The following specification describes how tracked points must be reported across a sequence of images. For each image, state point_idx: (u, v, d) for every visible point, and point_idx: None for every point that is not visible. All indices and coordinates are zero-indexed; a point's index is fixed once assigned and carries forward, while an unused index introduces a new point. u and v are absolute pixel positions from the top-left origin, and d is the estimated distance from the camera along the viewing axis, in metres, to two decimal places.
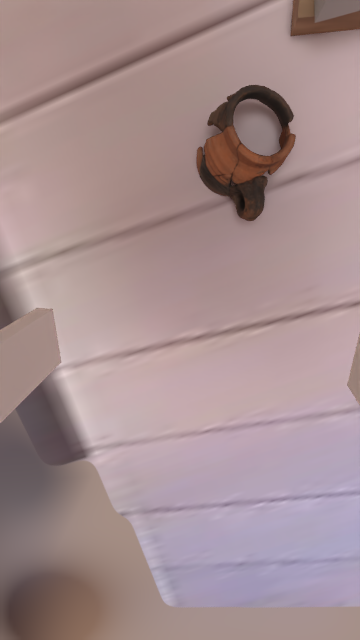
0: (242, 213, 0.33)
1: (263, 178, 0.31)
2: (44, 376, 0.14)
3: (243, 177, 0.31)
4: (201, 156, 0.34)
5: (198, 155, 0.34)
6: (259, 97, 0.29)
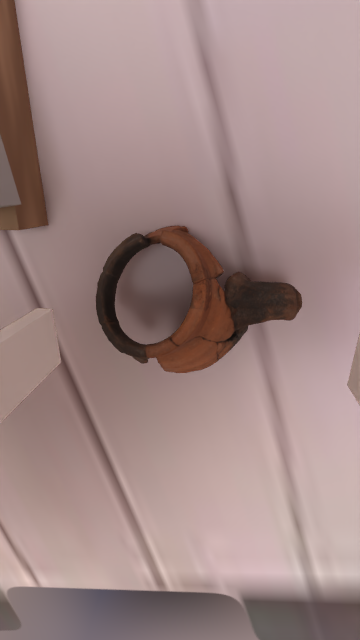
0: None
1: (229, 286, 0.17)
2: (44, 376, 0.14)
3: (224, 323, 0.17)
4: None
5: None
6: (111, 289, 0.19)
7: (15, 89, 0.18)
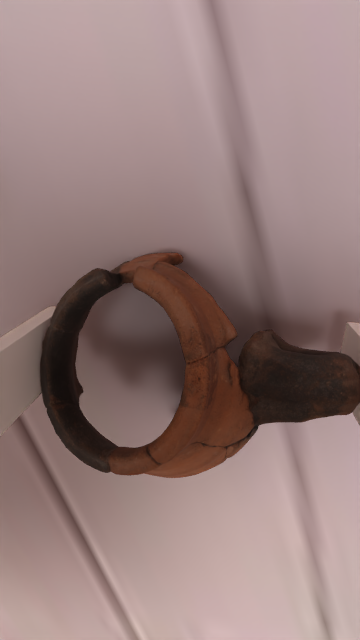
0: None
1: (246, 360, 0.10)
2: None
3: (238, 419, 0.10)
4: None
5: None
6: (64, 350, 0.12)
7: None
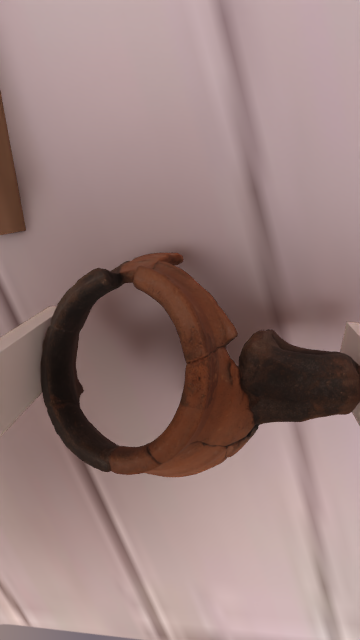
0: None
1: (246, 359, 0.10)
2: None
3: (239, 419, 0.10)
4: None
5: None
6: (65, 350, 0.13)
7: None
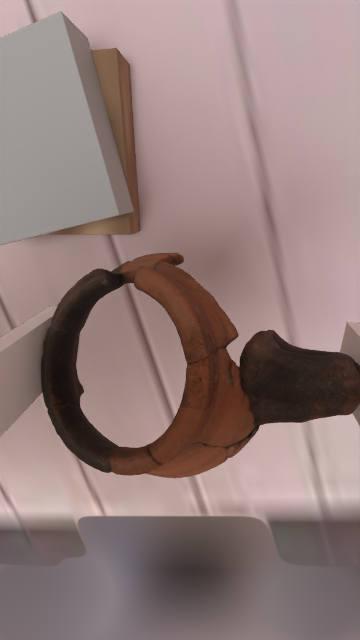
0: None
1: (247, 360, 0.10)
2: None
3: (239, 419, 0.10)
4: None
5: None
6: (65, 350, 0.12)
7: (131, 145, 0.28)
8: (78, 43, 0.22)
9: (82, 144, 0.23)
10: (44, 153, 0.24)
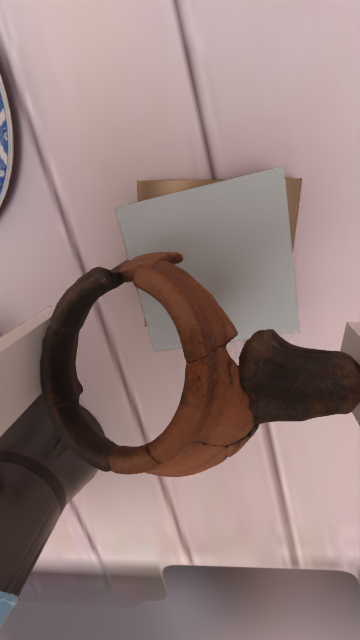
0: None
1: (247, 359, 0.10)
2: None
3: (239, 418, 0.10)
4: None
5: None
6: (64, 349, 0.12)
7: None
8: None
9: (277, 273, 0.25)
10: (235, 277, 0.25)
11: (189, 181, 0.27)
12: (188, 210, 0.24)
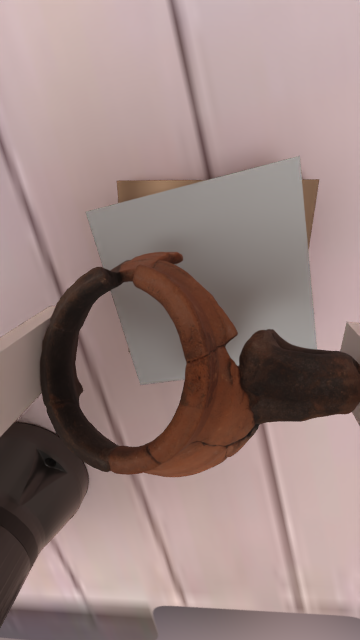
0: None
1: (247, 359, 0.10)
2: None
3: (239, 418, 0.10)
4: None
5: None
6: (64, 349, 0.12)
7: None
8: None
9: (290, 291, 0.20)
10: (238, 297, 0.20)
11: (180, 181, 0.22)
12: (177, 214, 0.19)
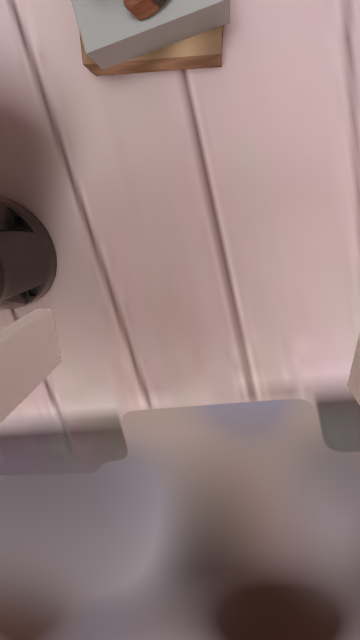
0: None
1: None
2: (44, 376, 0.14)
3: None
4: None
5: (132, 1, 0.25)
6: None
7: None
8: None
9: None
10: None
11: None
12: None
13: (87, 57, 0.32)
